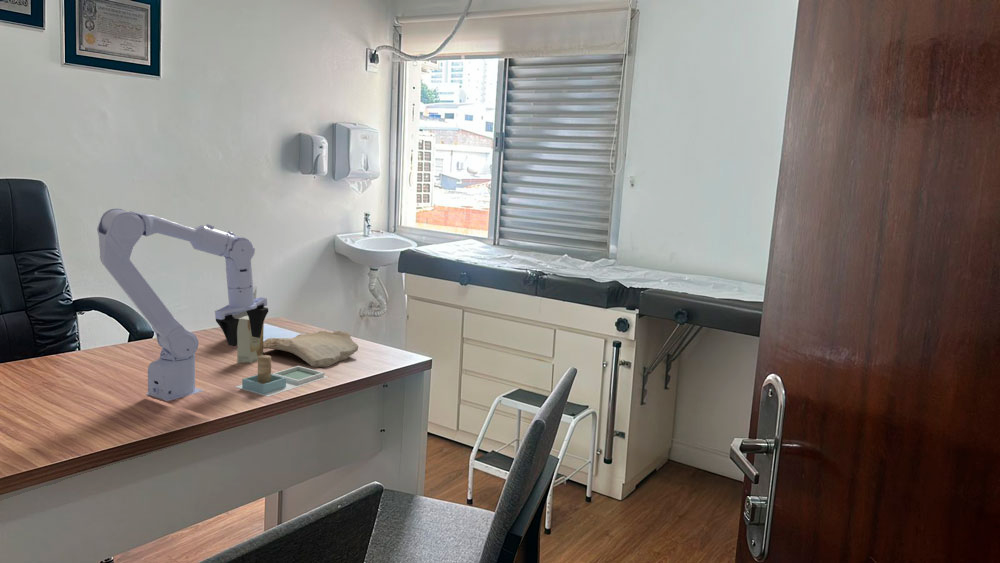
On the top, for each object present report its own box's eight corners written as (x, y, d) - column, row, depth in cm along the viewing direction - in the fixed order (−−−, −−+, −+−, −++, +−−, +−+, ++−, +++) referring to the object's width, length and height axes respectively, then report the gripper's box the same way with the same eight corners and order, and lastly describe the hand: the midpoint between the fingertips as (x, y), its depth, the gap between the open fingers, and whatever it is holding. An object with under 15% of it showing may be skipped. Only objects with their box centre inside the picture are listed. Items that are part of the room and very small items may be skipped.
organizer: (267, 399, 163) (267, 392, 163) (234, 389, 168) (234, 382, 168) (328, 378, 180) (328, 372, 180) (296, 370, 185) (297, 364, 185)
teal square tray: (263, 394, 164) (263, 385, 164) (242, 388, 168) (242, 379, 167) (286, 386, 170) (286, 378, 170) (265, 381, 174) (265, 372, 173)
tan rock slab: (305, 344, 215) (251, 351, 198) (308, 320, 214) (253, 324, 197) (365, 363, 203) (312, 371, 186) (368, 337, 202) (315, 344, 185)
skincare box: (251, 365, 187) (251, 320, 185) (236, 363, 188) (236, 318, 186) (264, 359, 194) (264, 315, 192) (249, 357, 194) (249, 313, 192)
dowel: (263, 390, 167) (264, 359, 166) (254, 387, 168) (255, 357, 167) (273, 387, 170) (273, 356, 168) (264, 384, 171) (265, 354, 170)
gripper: (229, 294, 160) (233, 351, 163) (275, 281, 173) (278, 335, 176) (206, 291, 163) (211, 347, 166) (253, 279, 176) (257, 331, 179)
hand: (244, 341), depth 171 cm, fingers open, 7 cm apart
